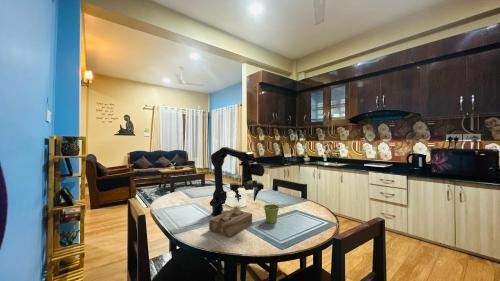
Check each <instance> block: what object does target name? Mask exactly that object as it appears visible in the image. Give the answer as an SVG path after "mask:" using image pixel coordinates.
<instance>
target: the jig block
mask: <svg viewBox="0 0 500 281" xmlns="http://www.w3.org/2000/svg"><path fill="white" fill-rule="evenodd" d="M228 211H229V221H227V222H225V221H222V214H220V215H218V216H213V217H211V218H209V219H208V220H209V221H208V224H209V225H208V231H210V232H211V233H215V234H217V235H220V236H224V237H226V238H231V237H233V236H235V235H236V234H238V233H240V232H241V231H244V229H245V230H246V228H248V227H250V226H252V225H253V213H251V212H247V211H243V210H241V215H239V216H236V215H234V208H232V209H229V210H228Z"/></svg>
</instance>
